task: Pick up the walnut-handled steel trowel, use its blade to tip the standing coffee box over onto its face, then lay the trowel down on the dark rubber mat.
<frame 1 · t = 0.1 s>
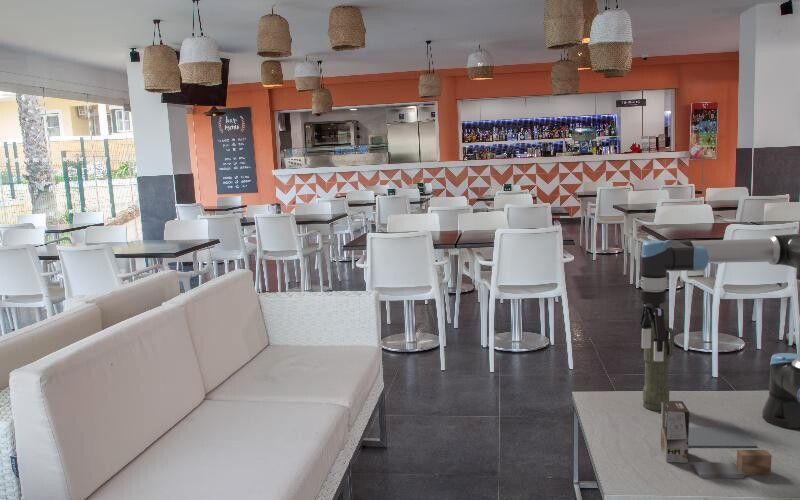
hand: (652, 354, 210), 28 cm above the table, tool pointing down, fingers open, 13 cm apart
thermos: (655, 407, 238), on the table
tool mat: (708, 437, 212), on the table
trowel: (753, 472, 189), on the table
coffee box: (674, 456, 200), on the table
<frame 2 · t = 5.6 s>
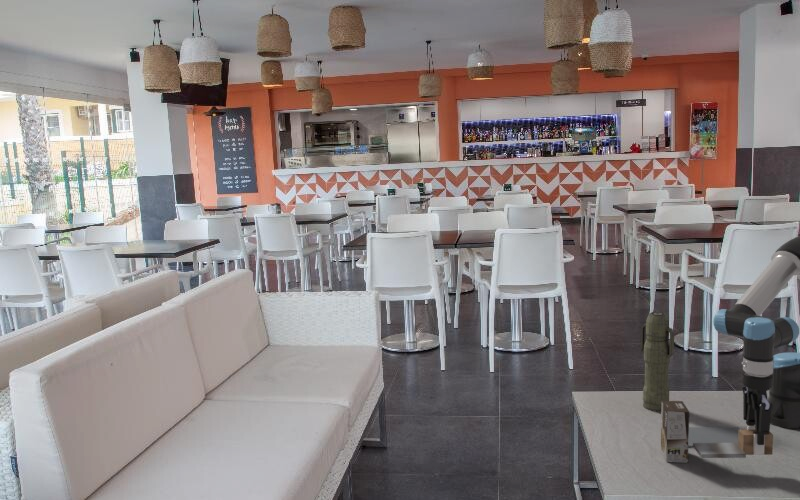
hand: (755, 450, 188), 6 cm above the table, tool pointing down, fingers closed on trowel, 3 cm apart
trowel: (754, 451, 188), point 6 cm above the table, touching gripper
everything else where it was.
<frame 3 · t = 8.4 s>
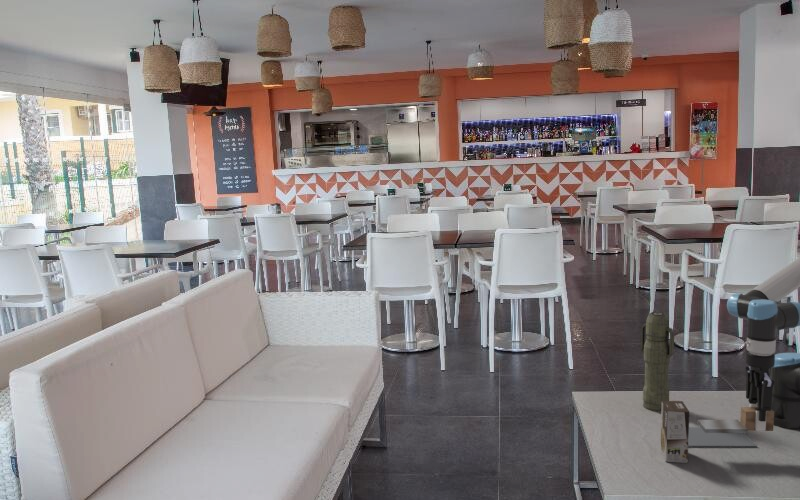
hand: (756, 427, 197), 9 cm above the table, tool pointing down, fingers closed on trowel, 3 cm apart
trowel: (756, 428, 197), point 9 cm above the table, touching gripper
everything else where it was.
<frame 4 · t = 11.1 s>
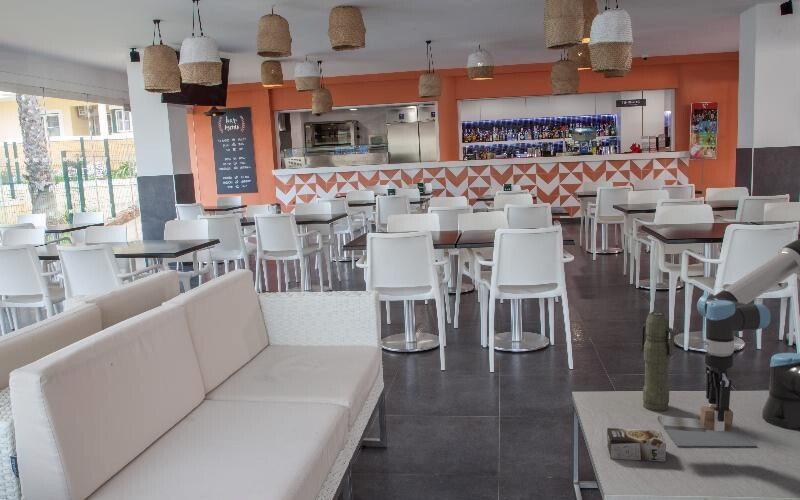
hand: (716, 427, 198), 9 cm above the table, tool pointing down, fingers closed on trowel, 3 cm apart
trowel: (715, 428, 198), point 9 cm above the table, touching gripper
coffee box: (663, 445, 200), point 3 cm above the table
everything else where it was.
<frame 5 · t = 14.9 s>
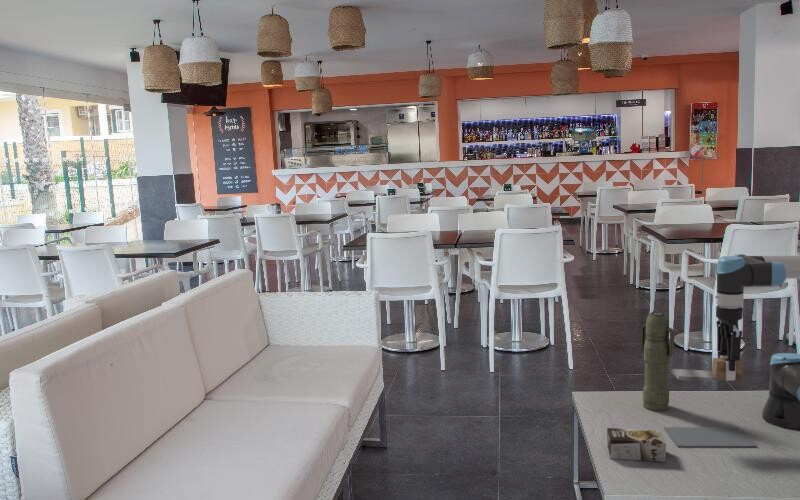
hand: (727, 377, 208), 20 cm above the table, tool pointing down, fingers closed on trowel, 3 cm apart
trowel: (726, 378, 208), point 20 cm above the table, touching gripper
everything else where it was.
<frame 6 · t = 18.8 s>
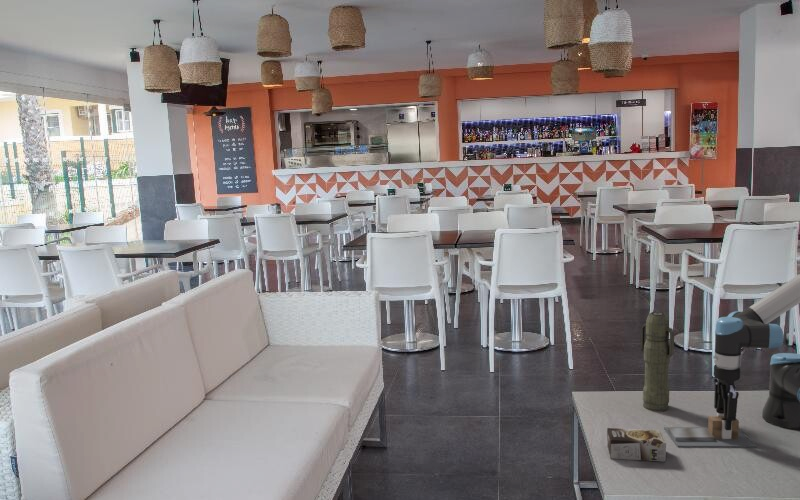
hand: (723, 435, 211), 1 cm above the table, tool pointing down, fingers closed on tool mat, trowel, 4 cm apart
trowel: (722, 436, 211), resting on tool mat, touching gripper
everything else where it was.
when the fingers open (1 cm above the table, at t = 20.7 s): trowel stays where it is, resting on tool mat.
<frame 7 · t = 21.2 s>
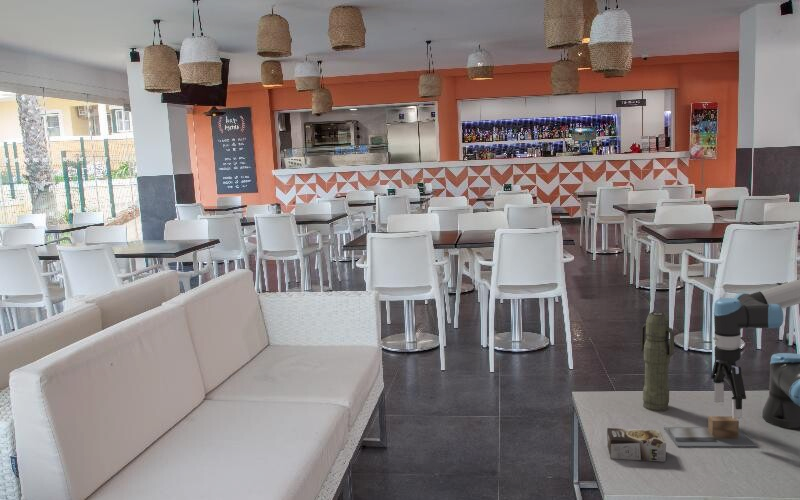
hand: (727, 409, 213), 8 cm above the table, tool pointing down, fingers open, 13 cm apart
trowel: (722, 436, 211), resting on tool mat
everything else where it was.
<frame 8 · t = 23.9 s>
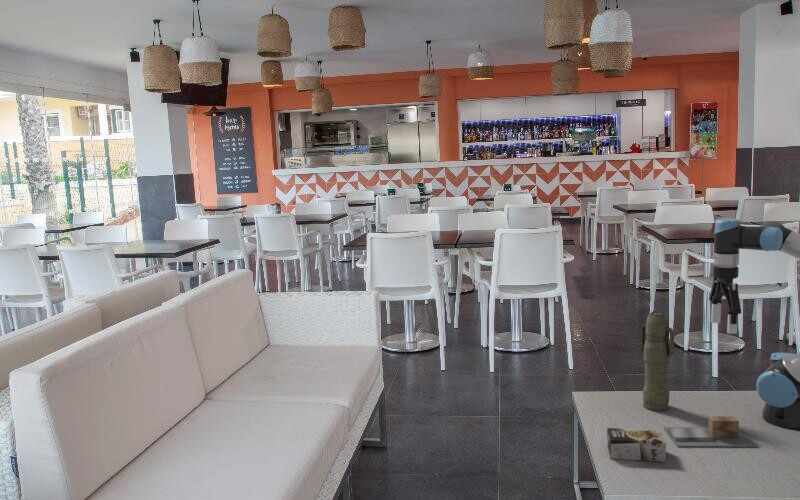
hand: (723, 327, 220), 33 cm above the table, tool pointing down, fingers open, 13 cm apart
nothing on the table moved.
at the end: coffee box tilted 90°; trowel inside the target area (3.4 cm from its centre), point 0.5 cm above the table; the gripper is holding nothing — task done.
